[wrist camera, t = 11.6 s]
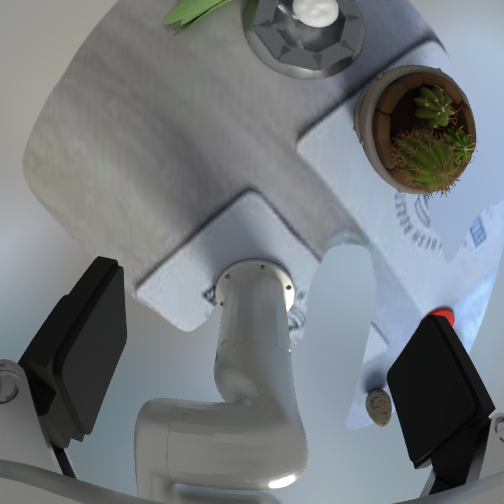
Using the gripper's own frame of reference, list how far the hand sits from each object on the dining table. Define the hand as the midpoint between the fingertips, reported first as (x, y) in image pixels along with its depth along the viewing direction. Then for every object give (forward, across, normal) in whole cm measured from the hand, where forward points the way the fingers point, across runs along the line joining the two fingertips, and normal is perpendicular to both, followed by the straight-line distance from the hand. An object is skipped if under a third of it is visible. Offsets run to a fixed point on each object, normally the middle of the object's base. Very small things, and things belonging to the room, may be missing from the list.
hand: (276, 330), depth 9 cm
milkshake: (+34, -2, -16) cm, 37 cm away
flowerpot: (+34, -16, -7) cm, 39 cm away
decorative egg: (+35, -38, +48) cm, 70 cm away
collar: (+34, -2, -16) cm, 38 cm away
